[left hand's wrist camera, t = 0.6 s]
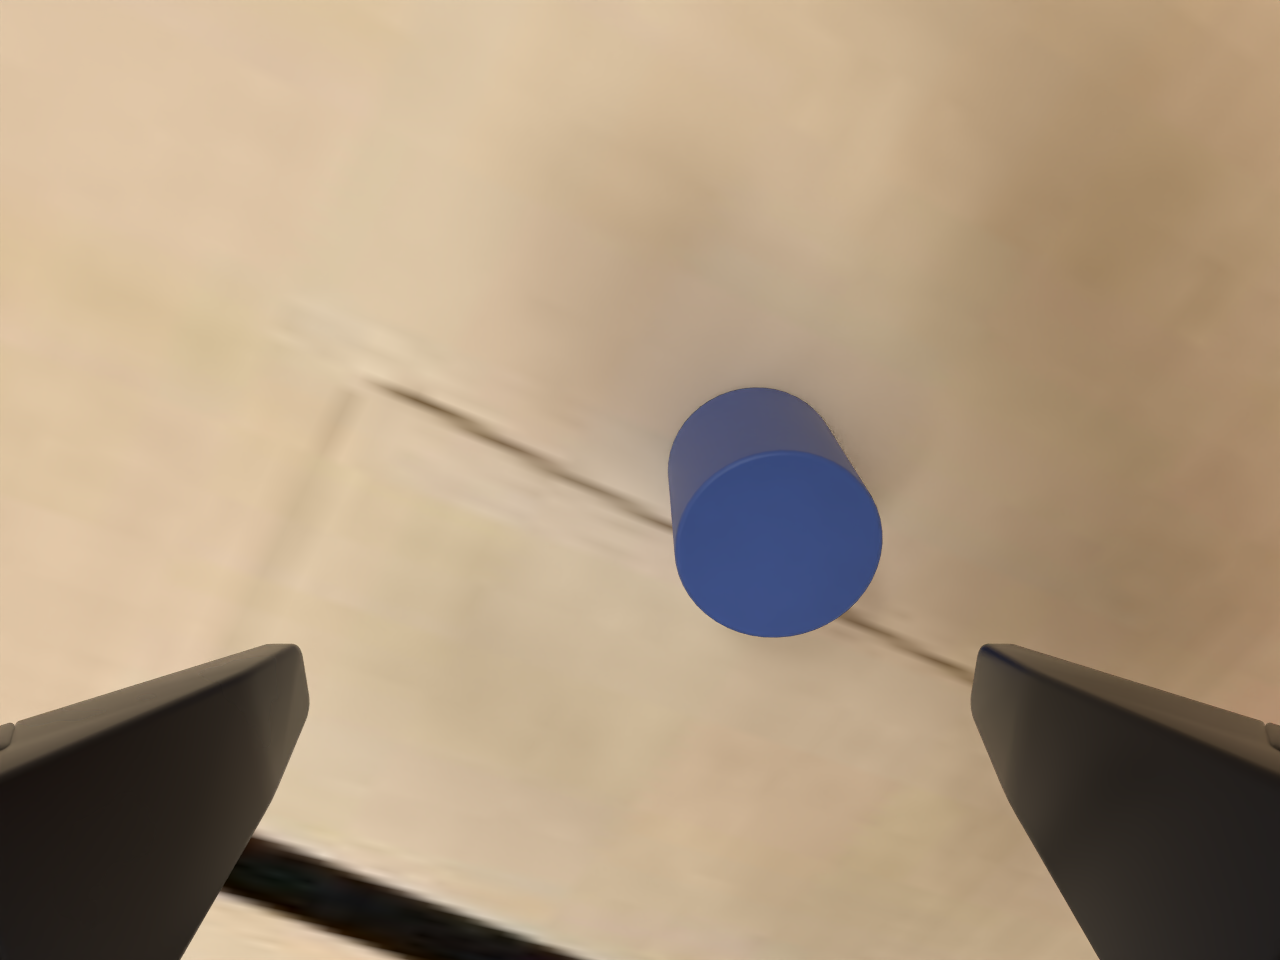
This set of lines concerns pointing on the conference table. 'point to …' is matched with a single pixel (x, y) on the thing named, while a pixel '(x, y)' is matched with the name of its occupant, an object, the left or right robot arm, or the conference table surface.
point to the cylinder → (769, 515)
